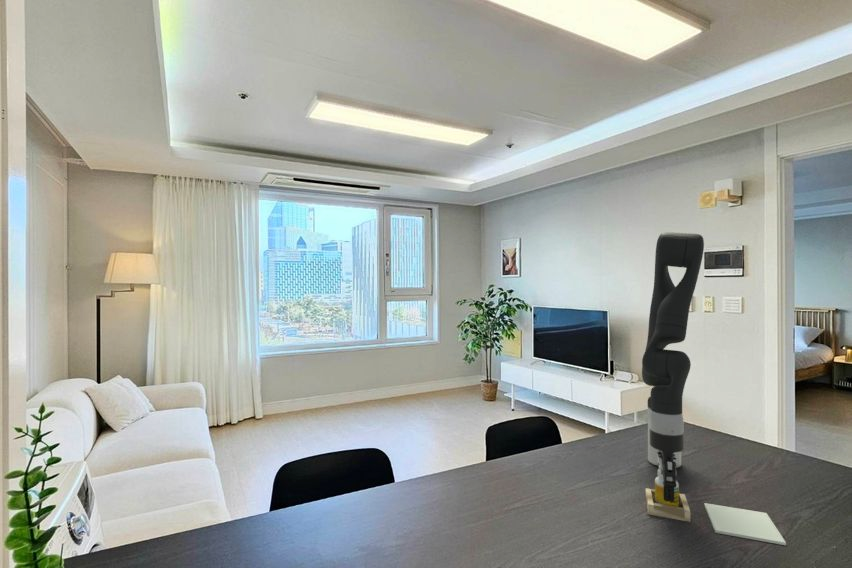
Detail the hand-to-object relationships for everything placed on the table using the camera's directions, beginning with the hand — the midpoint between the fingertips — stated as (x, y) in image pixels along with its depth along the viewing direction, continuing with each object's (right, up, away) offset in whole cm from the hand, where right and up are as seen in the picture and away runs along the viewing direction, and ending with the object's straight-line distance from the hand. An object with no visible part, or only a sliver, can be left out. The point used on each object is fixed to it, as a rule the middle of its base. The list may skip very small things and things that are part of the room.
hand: (666, 492), depth 110 cm
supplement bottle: (0, -4, 0) cm, 4 cm away
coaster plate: (+14, -4, -7) cm, 16 cm away
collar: (0, -4, 0) cm, 4 cm away
